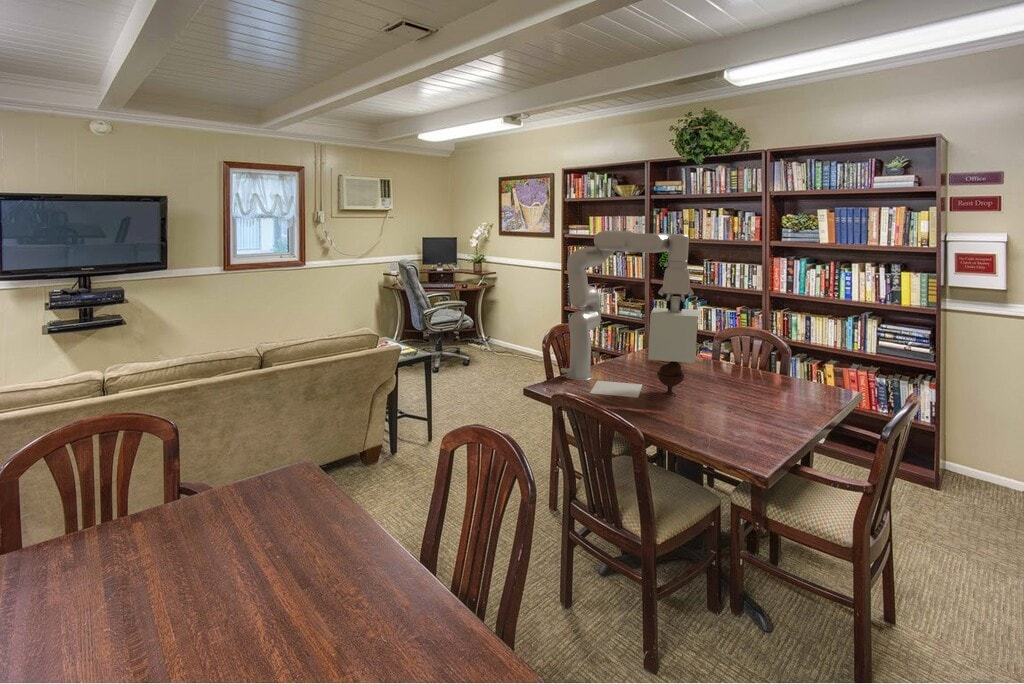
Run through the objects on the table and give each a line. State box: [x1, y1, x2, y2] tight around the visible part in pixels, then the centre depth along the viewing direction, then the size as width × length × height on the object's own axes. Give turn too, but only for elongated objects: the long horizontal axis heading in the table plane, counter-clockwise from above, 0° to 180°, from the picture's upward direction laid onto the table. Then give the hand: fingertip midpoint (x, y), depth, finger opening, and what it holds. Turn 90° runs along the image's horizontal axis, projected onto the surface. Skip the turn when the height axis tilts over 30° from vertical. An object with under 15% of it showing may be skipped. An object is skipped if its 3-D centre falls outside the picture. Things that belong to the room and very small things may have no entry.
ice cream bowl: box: [656, 361, 685, 398], centre depth 238 cm, size 11×11×15 cm
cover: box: [647, 296, 699, 364], centre depth 233 cm, size 18×18×25 cm
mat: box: [589, 380, 643, 398], centre depth 245 cm, size 20×20×1 cm
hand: (674, 310), depth 232 cm, fingers closed on cover, 4 cm apart
